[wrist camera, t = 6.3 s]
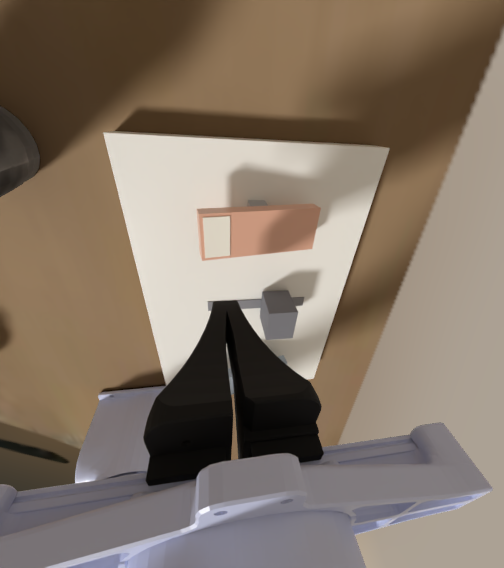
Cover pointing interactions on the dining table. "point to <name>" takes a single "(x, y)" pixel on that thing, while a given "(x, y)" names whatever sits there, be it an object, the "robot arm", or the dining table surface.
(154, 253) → the switch panel
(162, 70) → the dining table surface
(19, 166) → the beverage cup
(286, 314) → the block
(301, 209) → the pink plate with label
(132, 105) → the dining table surface
